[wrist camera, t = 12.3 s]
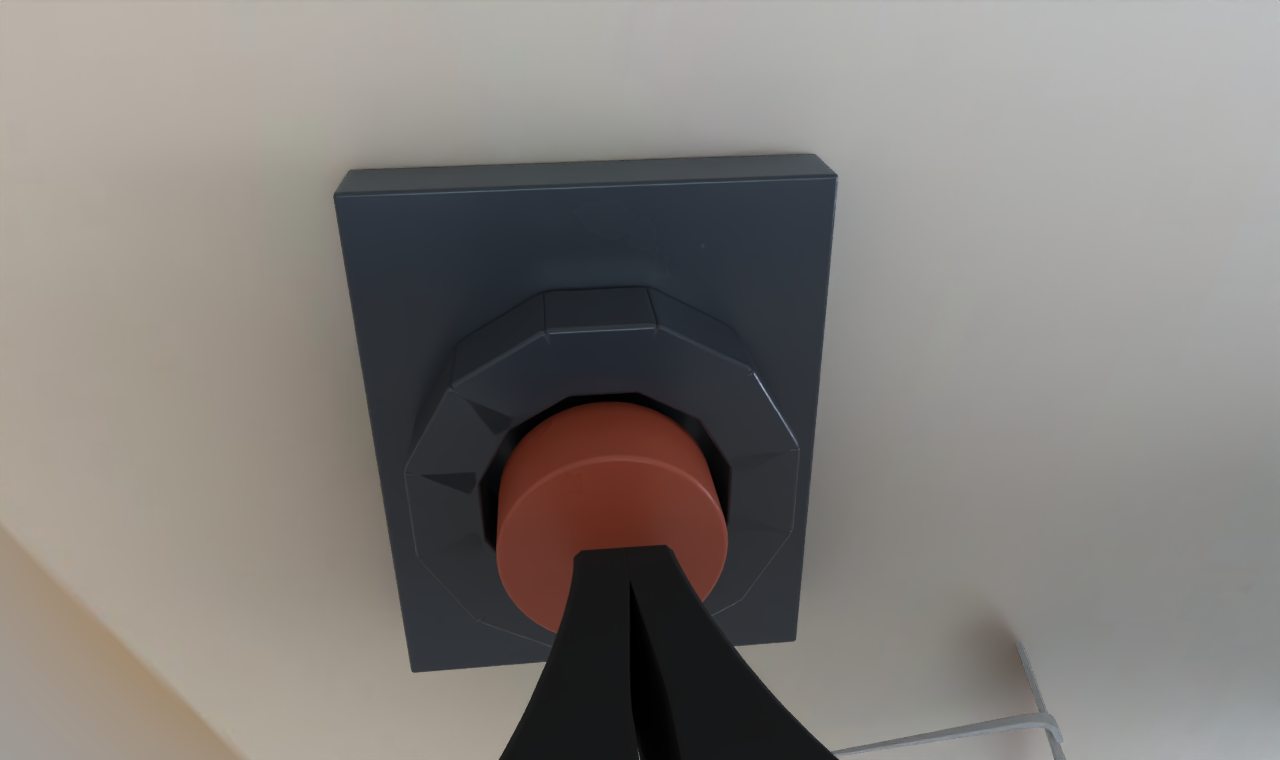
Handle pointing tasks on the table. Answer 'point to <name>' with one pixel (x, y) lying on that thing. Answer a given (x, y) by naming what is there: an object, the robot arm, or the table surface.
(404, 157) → the table surface
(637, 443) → the bell button
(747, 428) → the block
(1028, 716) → the sunglasses
